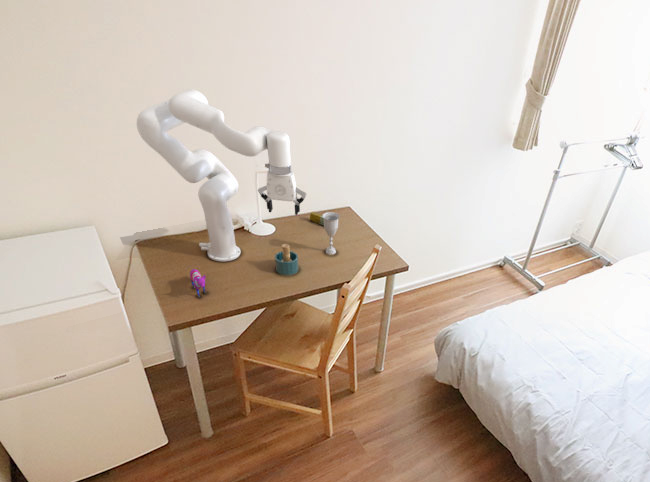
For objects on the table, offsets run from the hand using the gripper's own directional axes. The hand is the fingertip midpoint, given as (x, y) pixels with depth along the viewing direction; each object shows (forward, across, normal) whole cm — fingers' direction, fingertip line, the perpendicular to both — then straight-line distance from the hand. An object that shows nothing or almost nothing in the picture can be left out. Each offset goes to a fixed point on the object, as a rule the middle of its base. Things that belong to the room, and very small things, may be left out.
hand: (283, 212), depth 175 cm
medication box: (+25, +8, +39) cm, 47 cm away
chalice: (+25, +16, +14) cm, 33 cm away
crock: (+25, 0, -2) cm, 25 cm away
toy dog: (+25, -28, -21) cm, 43 cm away
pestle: (+24, 0, -2) cm, 24 cm away
